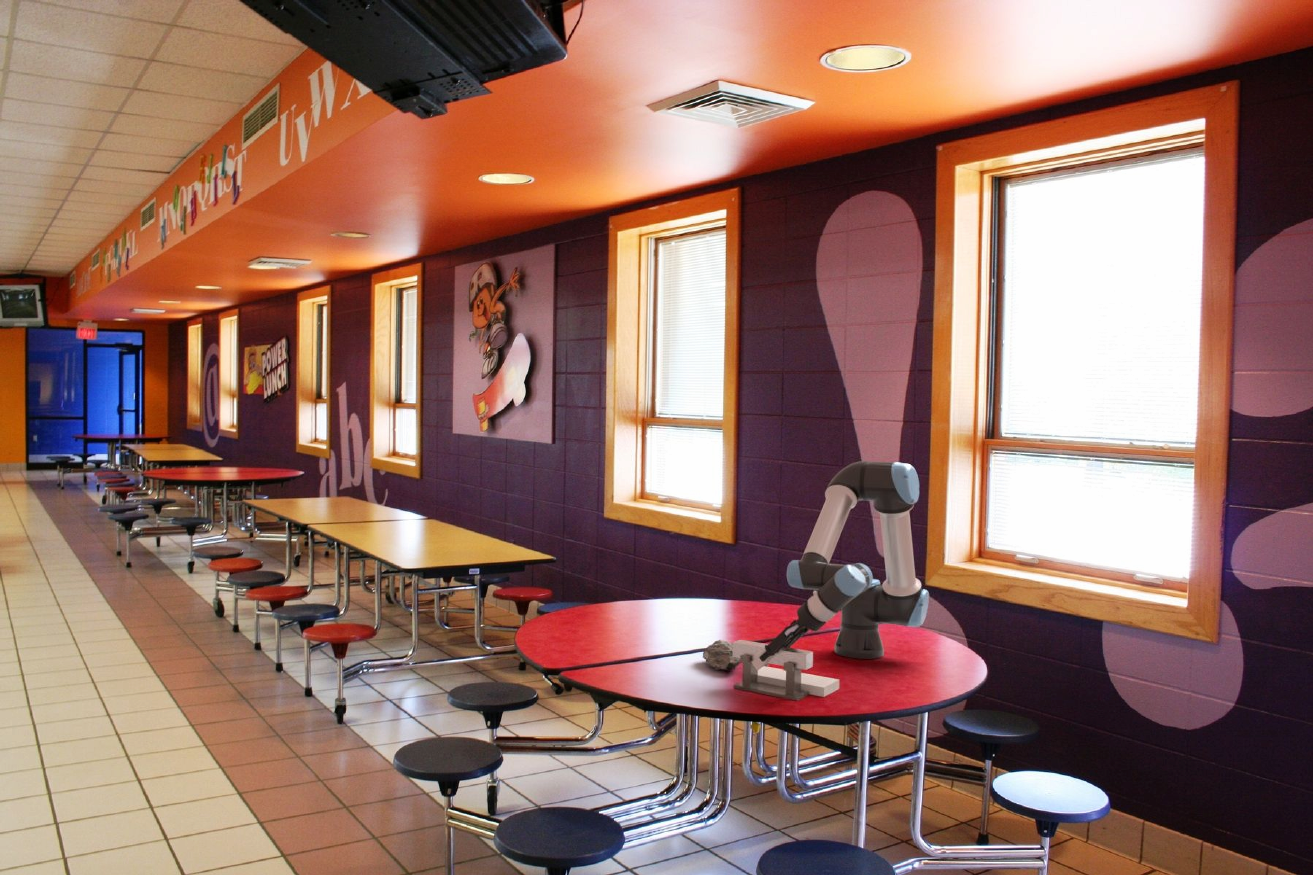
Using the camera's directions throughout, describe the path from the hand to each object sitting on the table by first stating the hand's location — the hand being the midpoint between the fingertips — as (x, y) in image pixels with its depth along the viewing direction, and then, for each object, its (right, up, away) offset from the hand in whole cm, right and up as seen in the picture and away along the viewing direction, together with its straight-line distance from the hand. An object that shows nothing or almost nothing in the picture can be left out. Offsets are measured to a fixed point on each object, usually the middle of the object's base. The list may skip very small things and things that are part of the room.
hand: (759, 664), depth 261 cm
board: (+10, -7, +4) cm, 13 cm away
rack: (+3, -7, -2) cm, 8 cm away
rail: (+3, +1, -2) cm, 4 cm away
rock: (-7, -7, +22) cm, 24 cm away
